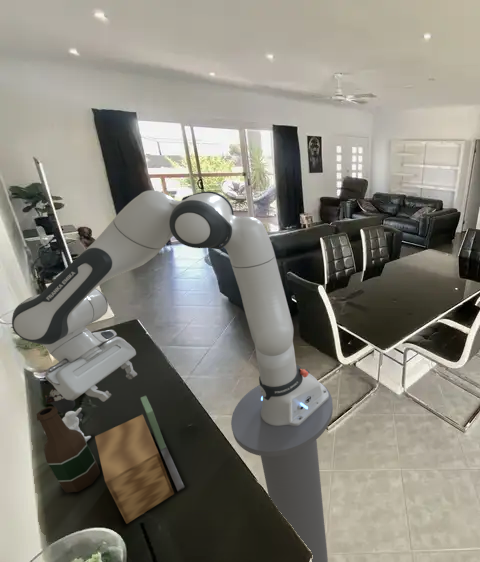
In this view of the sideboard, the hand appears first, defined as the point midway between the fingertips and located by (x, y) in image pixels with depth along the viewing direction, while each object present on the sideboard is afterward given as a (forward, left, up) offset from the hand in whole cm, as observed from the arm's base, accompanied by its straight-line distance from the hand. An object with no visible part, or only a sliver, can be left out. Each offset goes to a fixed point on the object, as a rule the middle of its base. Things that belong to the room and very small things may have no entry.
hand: (121, 387), depth 86 cm
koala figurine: (+14, -13, -21) cm, 29 cm away
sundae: (+14, -27, -21) cm, 37 cm away
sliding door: (-4, +2, -21) cm, 21 cm away
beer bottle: (+14, +1, -21) cm, 26 cm away
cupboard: (+2, +10, -21) cm, 24 cm away
